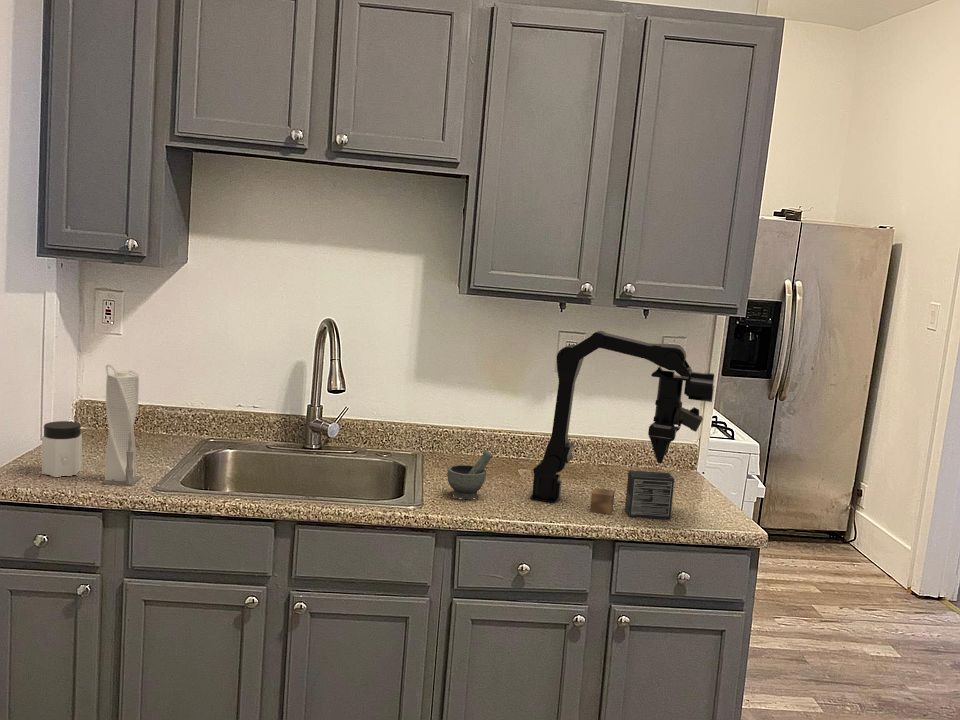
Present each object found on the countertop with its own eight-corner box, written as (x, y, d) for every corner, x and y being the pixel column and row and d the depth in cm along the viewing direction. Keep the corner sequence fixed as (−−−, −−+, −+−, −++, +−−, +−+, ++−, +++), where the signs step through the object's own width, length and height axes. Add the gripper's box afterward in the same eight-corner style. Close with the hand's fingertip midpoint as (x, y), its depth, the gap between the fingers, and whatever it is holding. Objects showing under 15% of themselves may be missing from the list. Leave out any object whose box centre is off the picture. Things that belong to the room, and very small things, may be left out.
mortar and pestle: (448, 501, 230) (452, 454, 228) (442, 490, 239) (446, 444, 237) (493, 502, 232) (497, 455, 230) (486, 491, 241) (489, 446, 239)
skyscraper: (95, 483, 221) (98, 366, 217) (108, 474, 229) (111, 361, 225) (131, 486, 221) (134, 369, 217) (143, 477, 229) (146, 364, 225)
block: (589, 512, 231) (591, 492, 230) (593, 506, 236) (594, 487, 235) (609, 515, 229) (612, 495, 229) (612, 510, 234) (614, 490, 233)
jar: (45, 479, 221) (46, 429, 220) (38, 470, 228) (38, 422, 226) (85, 475, 227) (86, 427, 225) (77, 467, 233) (78, 420, 231)
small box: (665, 512, 236) (669, 471, 234) (671, 520, 229) (676, 479, 228) (623, 509, 235) (628, 468, 234) (628, 517, 229) (633, 475, 227)
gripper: (700, 407, 216) (692, 472, 219) (705, 395, 234) (698, 455, 236) (651, 400, 219) (644, 465, 222) (660, 389, 237) (653, 449, 239)
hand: (661, 458), depth 230 cm, fingers open, 9 cm apart
